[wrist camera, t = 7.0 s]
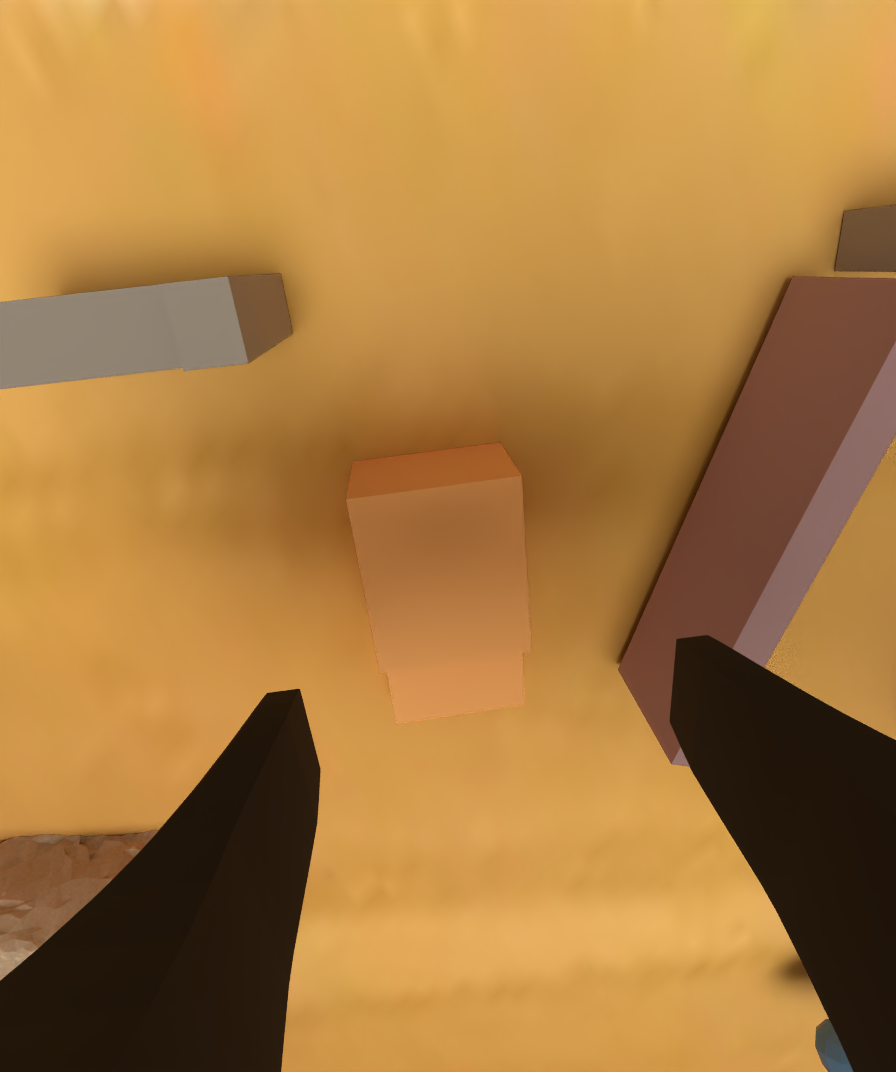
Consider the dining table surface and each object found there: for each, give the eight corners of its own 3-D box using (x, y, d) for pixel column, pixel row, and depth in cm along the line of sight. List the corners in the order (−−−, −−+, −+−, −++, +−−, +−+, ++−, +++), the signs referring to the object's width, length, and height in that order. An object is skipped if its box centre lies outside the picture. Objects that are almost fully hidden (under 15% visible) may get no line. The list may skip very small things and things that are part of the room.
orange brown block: (498, 439, 18) (521, 476, 15) (515, 672, 22) (536, 741, 19) (353, 458, 18) (346, 499, 15) (396, 689, 22) (397, 761, 19)
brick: (-12, 832, 23) (-104, 962, 19) (209, 820, 24) (169, 942, 19) (88, 1056, 30) (38, 1188, 26) (256, 1041, 31) (234, 1167, 26)
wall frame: (1020, 191, 16) (1303, 157, 11) (1003, 251, 17) (1263, 245, 12) (59, 298, 15) (-105, 313, 10) (80, 358, 16) (-63, 399, 11)
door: (793, 276, 16) (928, 279, 12) (859, 297, 17) (1012, 306, 12) (617, 669, 21) (671, 764, 17) (671, 678, 22) (736, 772, 18)
